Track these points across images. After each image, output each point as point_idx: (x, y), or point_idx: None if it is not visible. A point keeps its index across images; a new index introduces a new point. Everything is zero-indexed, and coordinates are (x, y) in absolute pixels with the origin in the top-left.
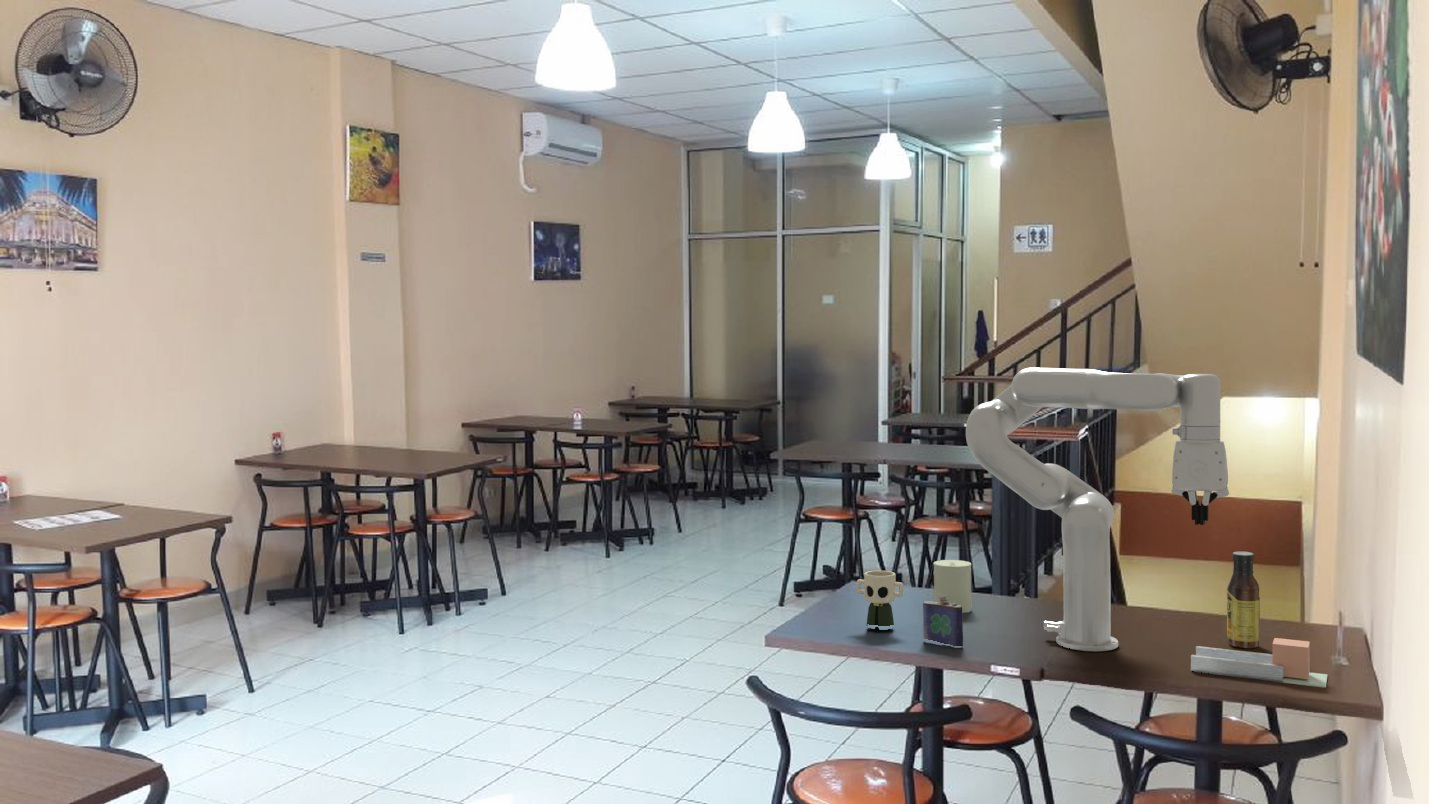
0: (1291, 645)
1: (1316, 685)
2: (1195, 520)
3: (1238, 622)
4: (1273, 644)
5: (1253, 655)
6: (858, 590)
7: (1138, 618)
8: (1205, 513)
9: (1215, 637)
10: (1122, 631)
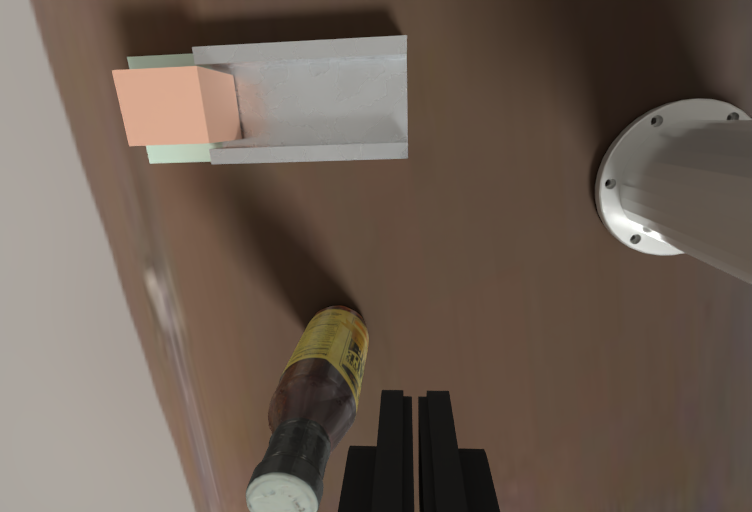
0: (152, 72)
1: (145, 56)
2: (445, 408)
3: (334, 329)
4: (194, 66)
5: (278, 146)
6: None
7: (564, 457)
8: (359, 494)
9: (399, 370)
10: (591, 340)
